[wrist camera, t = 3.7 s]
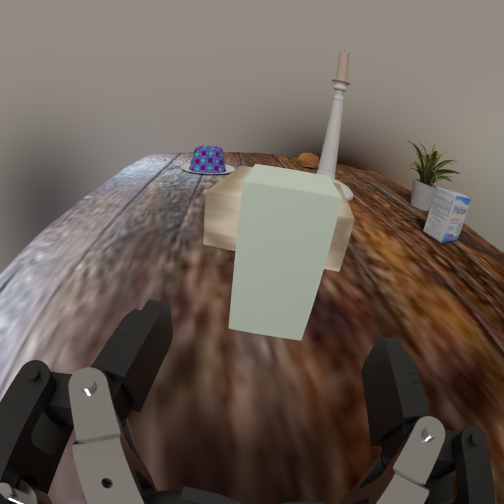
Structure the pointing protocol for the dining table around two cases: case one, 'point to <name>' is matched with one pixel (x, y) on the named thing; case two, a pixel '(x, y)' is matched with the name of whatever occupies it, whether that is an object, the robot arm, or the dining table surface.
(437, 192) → the medicine box
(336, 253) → the oak block
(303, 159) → the pastry
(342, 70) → the candlestick
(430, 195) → the house plant
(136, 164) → the dining table surface
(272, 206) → the pale green block
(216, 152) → the pudding
